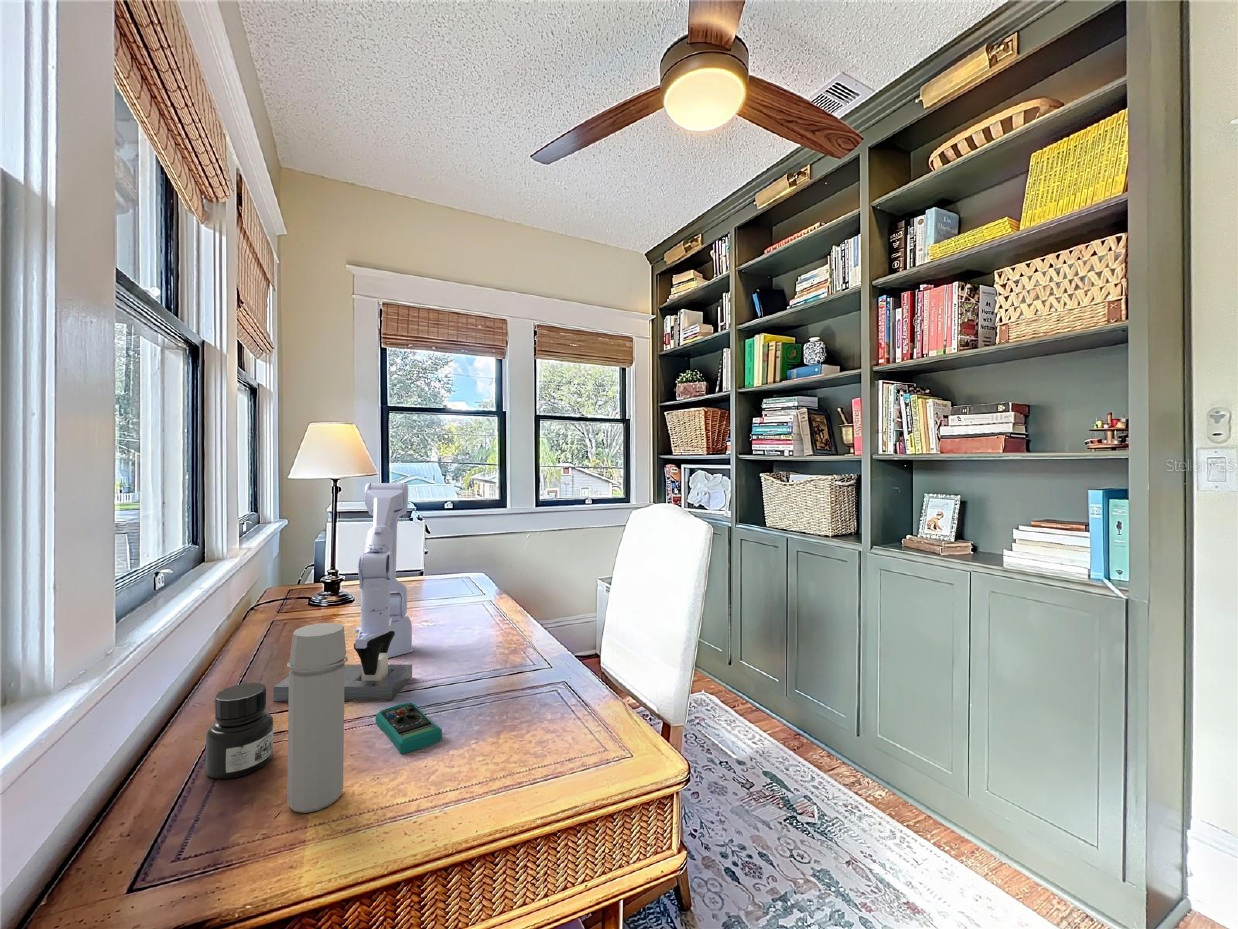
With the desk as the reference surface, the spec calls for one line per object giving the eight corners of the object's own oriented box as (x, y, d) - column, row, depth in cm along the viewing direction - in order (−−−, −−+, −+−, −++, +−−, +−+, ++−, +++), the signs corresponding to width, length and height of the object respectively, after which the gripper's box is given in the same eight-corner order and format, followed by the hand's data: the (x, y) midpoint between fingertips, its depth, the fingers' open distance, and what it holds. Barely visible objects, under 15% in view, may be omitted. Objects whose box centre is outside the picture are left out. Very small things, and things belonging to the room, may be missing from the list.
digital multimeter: (413, 713, 106) (413, 698, 106) (443, 743, 95) (443, 727, 95) (374, 725, 101) (374, 709, 101) (401, 758, 90) (401, 741, 90)
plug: (387, 684, 118) (388, 653, 118) (380, 692, 114) (380, 659, 114) (366, 684, 118) (366, 653, 118) (358, 692, 114) (358, 659, 114)
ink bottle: (237, 785, 81) (238, 707, 81) (188, 779, 83) (189, 702, 83) (287, 751, 91) (288, 681, 91) (242, 746, 92) (243, 677, 92)
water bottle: (332, 815, 75) (334, 637, 74) (273, 818, 74) (275, 638, 74) (359, 777, 84) (361, 618, 84) (307, 778, 83) (308, 618, 83)
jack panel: (412, 677, 122) (412, 664, 122) (391, 700, 110) (392, 686, 110) (305, 677, 121) (305, 664, 121) (273, 701, 109) (273, 686, 109)
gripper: (370, 599, 123) (370, 658, 123) (340, 617, 109) (339, 684, 109) (401, 599, 123) (401, 657, 123) (375, 617, 109) (374, 684, 109)
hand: (374, 670), depth 116 cm, fingers closed on plug, 4 cm apart
